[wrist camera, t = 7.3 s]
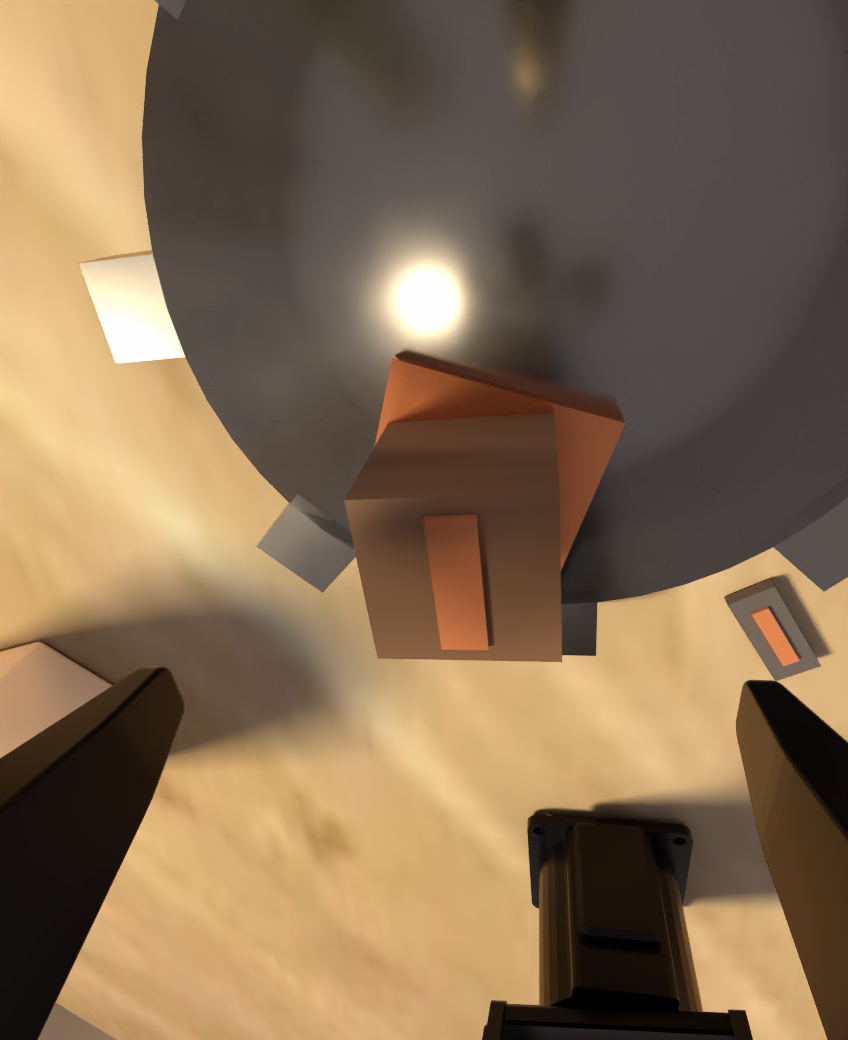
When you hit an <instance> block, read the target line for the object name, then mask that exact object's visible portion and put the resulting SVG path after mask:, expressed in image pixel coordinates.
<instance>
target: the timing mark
mask: <svg viewBox="0 0 848 1040" xmlns="http://www.w3.org/2000/svg"><path fill="white" fill-rule="evenodd" d="M724 598H725V600H726V602H727V605H728V606H729V608H730V610H731V611H732V613H733V614H734V616H735V618H736V619H737V621H738V622H739V624H740V626H741V627H742V629H743V630H744V632H745V633H746V635H747V637H748V638H749V640H750V641H751V643H752V645H753V646H754V648H755V649H756V651H757V653H758V654H759V656H760V657H761V659H762V661H763V662H764V664H765V665H766V667H767V669H768V670H769V672H770V673H771V675H772V677H773V678H774V680H775V681H778V680H781V679H784V678H787V677H790V676H793V675H796V674H799V673H802V672H805V671H808V670H811V669H814V668H817V667H820V666H821V665H820V663H819V662H818V660H817V658H816V656H815V655H814V653H813V651H812V649H811V648H810V646H809V644H808V643H807V641H806V639H805V637H804V636H803V634H802V632H801V630H800V629H799V627H798V625H797V624H796V622H795V620H794V618H793V617H792V615H791V613H790V612H789V610H788V608H787V606H786V605H785V603H784V601H783V600H782V598H781V596H780V594H779V593H778V591H777V589H776V588H775V586H774V584H773V582H772V581H771V579H768V580H765V581H763V582H761V583H758V584H756V585H753V586H751V587H748V588H746V589H743V590H741V591H738V592H736V593H733V594H731V595H728V596H726V597H724Z"/></svg>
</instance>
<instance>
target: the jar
mask: <svg viewBox="0 0 848 1040" xmlns="http://www.w3.org/2000/svg"><path fill="white" fill-rule="evenodd" d="M111 686H113V685H111V684H110V683H108V682H106V681H105V680H103V679H101V678H100V677H98V676H96V675H95V674H93V673H91V672H90V671H88V670H86V669H85V668H83V667H82V666H80V665H78V664H77V663H75V662H73V661H72V660H70V659H68V658H67V657H65V656H63V655H62V654H60V653H58V652H57V651H55V650H54V649H52V648H50V647H49V646H47V645H45V644H44V643H41V642H35V643H31V644H27V645H23V646H20V647H16V648H12V649H8V650H4V651H0V758H1V757H3V756H4V755H6V754H7V753H9V752H11V751H12V750H14V749H15V748H17V747H18V746H20V745H21V744H23V743H24V742H26V741H28V740H29V739H31V738H32V737H34V736H35V735H37V734H38V733H40V732H41V731H43V730H45V729H46V728H48V727H49V726H51V725H52V724H54V723H55V722H57V721H59V720H60V719H62V718H63V717H65V716H66V715H68V714H69V713H71V712H72V711H74V710H76V709H77V708H79V707H80V706H82V705H83V704H85V703H86V702H88V701H89V700H91V699H93V698H94V697H96V696H97V695H99V694H100V693H102V692H103V691H105V690H106V689H108V688H110V687H111Z"/></svg>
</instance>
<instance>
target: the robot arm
mask: <svg viewBox="0 0 848 1040" xmlns="http://www.w3.org/2000/svg"><path fill="white" fill-rule="evenodd" d="M183 713H184V700H183V698H182V695H181V693H180V691H179V689H178V686H177V684H176V682H175V680H174V677H173V675H172V673H171V671H170V670H169V669H168V668H167V667H164V666H144V667H141V668H139V669H137V670H136V671H134V672H133V673H131V674H130V675H128V676H127V677H125V678H124V679H122V680H120V681H119V682H117V683H116V684H114V685H113V686H111V687H110V688H108V689H106V690H105V691H103V692H102V693H100V694H99V695H97V696H96V697H94V698H93V699H91V700H89V701H88V702H86V703H85V704H83V705H82V706H80V707H79V708H77V709H76V710H74V711H72V712H71V713H69V714H68V715H66V716H65V717H63V718H62V719H60V720H59V721H57V722H55V723H54V724H52V725H51V726H49V727H48V728H46V729H45V730H43V731H41V732H40V733H38V734H37V735H35V736H34V737H32V738H31V739H29V740H28V741H26V742H24V743H23V744H21V745H20V746H18V747H17V748H15V749H14V750H12V751H11V752H9V753H7V754H6V755H4V756H3V757H1V758H0V1040H38V1038H39V1036H40V1034H41V1032H42V1030H43V1028H44V1025H45V1023H46V1021H47V1019H48V1017H49V1015H50V1013H51V1011H52V1009H53V1007H54V1005H55V1002H56V1000H57V998H58V996H59V994H60V992H61V990H62V988H63V986H64V984H65V981H66V979H67V977H68V975H69V973H70V971H71V969H72V967H73V965H74V963H75V960H76V958H77V956H78V954H79V952H80V950H81V948H82V946H83V944H84V942H85V940H86V937H87V935H88V933H89V931H90V929H91V927H92V925H93V923H94V921H95V919H96V916H97V914H98V912H99V910H100V908H101V906H102V904H103V902H104V900H105V898H106V896H107V893H108V891H109V889H110V887H111V885H112V883H113V881H114V879H115V877H116V875H117V872H118V870H119V868H120V866H121V864H122V862H123V860H124V858H125V856H126V854H127V851H128V849H129V847H130V845H131V843H132V841H133V839H134V837H135V835H136V833H137V831H138V828H139V826H140V824H141V822H142V820H143V818H144V816H145V814H146V811H147V809H148V807H149V805H150V803H151V800H152V798H153V795H154V793H155V790H156V788H157V785H158V782H159V780H160V777H161V774H162V771H163V769H164V766H165V763H166V760H167V758H168V755H169V752H170V750H171V747H172V744H173V741H174V739H175V736H176V733H177V730H178V728H179V725H180V722H181V719H182V717H183ZM736 733H737V739H738V744H739V748H740V753H741V757H742V762H743V766H744V771H745V775H746V780H747V784H748V789H749V793H750V798H751V802H752V807H753V811H754V816H755V820H756V825H757V829H758V833H759V837H760V841H761V845H762V849H763V852H764V855H765V858H766V861H767V864H768V867H769V870H770V873H771V876H772V879H773V882H774V885H775V888H776V891H777V894H778V896H779V899H780V902H781V905H782V908H783V911H784V914H785V917H786V920H787V923H788V926H789V928H790V931H791V934H792V937H793V940H794V943H795V946H796V949H797V952H798V955H799V958H800V960H801V963H802V966H803V969H804V972H805V975H806V978H807V981H808V984H809V987H810V990H811V992H812V995H813V998H814V1001H815V1004H816V1007H817V1010H818V1013H819V1016H820V1019H821V1022H822V1025H823V1027H824V1030H825V1033H826V1036H827V1039H828V1040H848V742H847V741H846V740H845V739H844V738H843V737H841V736H840V735H839V734H838V733H837V732H836V731H835V730H833V729H832V728H831V727H830V726H829V725H828V724H827V723H825V722H824V721H823V720H822V719H821V718H820V717H819V716H817V715H816V714H815V713H814V712H813V711H812V710H811V709H809V708H808V707H807V706H806V705H805V704H804V703H803V702H801V701H800V700H799V699H798V698H797V697H796V696H795V695H793V694H792V693H791V692H790V691H789V690H788V689H787V688H785V687H784V686H783V685H782V684H780V683H778V682H776V681H767V680H749V681H746V682H745V683H744V685H743V687H742V692H741V697H740V703H739V708H738V713H737V719H736ZM692 844H693V841H692V837H691V832H690V830H689V828H688V827H686V826H684V825H679V824H665V823H651V822H636V821H622V820H608V819H593V818H579V817H565V816H550V815H533V816H531V817H529V818H528V846H529V862H530V878H531V894H532V904H533V905H534V906H535V907H536V908H539V1005H520V1004H507V1002H506V1001H496V1000H492V1001H491V1004H490V1010H489V1017H488V1023H487V1025H485V1027H484V1032H483V1038H482V1040H753V1038H752V1034H751V1030H750V1027H749V1023H748V1019H747V1015H746V1011H745V1010H728V1013H718V1012H703V1009H702V1004H701V999H700V993H699V988H698V983H697V978H696V973H695V968H694V963H693V958H692V952H691V947H690V942H689V937H688V932H687V927H686V922H685V916H684V911H683V900H684V894H685V888H686V881H687V875H688V869H689V862H690V856H691V850H692Z"/></svg>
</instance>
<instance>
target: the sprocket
mask: <svg viewBox="0 0 848 1040" xmlns="http://www.w3.org/2000/svg"><path fill="white" fill-rule="evenodd" d="M155 1H156V2H157V3H158V4H159V7H158V12H157V18H156V23H155V29H154V34H153V39H152V45H151V50H150V56H149V61H148V66H147V73H146V87H145V102H144V116H143V130H142V148H143V173H144V198H145V205H146V212H147V218H148V225H149V232H150V238H151V245H152V251H144V252H137V253H129V254H121V255H114V256H110V257H105V258H101V259H96V260H92V261H88V262H83V263H79V265H80V268H81V271H82V273H83V276H84V279H85V281H86V284H87V287H88V290H89V292H90V295H91V298H92V300H93V303H94V306H95V308H96V311H97V314H98V316H99V319H100V322H101V324H102V327H103V330H104V332H105V335H106V338H107V340H108V343H109V346H110V348H111V351H112V354H113V356H114V359H115V362H116V363H124V362H135V361H147V360H158V359H169V358H181V357H186V359H187V361H188V363H189V365H190V367H191V369H192V371H193V373H194V375H195V377H196V379H197V381H198V383H199V385H200V387H201V389H202V391H203V393H204V395H205V397H206V399H207V401H208V402H209V404H210V405H211V407H212V408H213V410H214V411H215V413H216V415H217V416H218V418H219V419H220V421H221V422H222V424H223V425H224V427H225V429H226V430H227V432H228V433H229V435H230V436H231V438H232V439H233V441H234V442H235V443H236V444H237V445H238V447H239V448H240V449H241V450H242V452H243V453H244V454H245V455H246V457H247V458H248V459H249V460H250V462H251V463H252V464H253V465H254V467H255V468H256V469H257V470H258V471H259V473H260V474H261V475H262V476H263V477H264V478H265V479H266V480H267V481H268V482H269V483H270V484H271V485H272V486H273V487H274V488H275V489H276V490H277V491H278V492H279V493H280V494H281V495H282V496H283V497H284V498H285V499H286V500H287V501H288V502H289V504H288V505H287V506H286V508H285V509H284V510H283V512H282V513H281V514H280V515H279V517H278V518H277V519H276V521H275V522H274V523H273V525H272V526H271V527H270V529H269V530H268V532H267V533H266V534H265V536H264V537H263V538H262V540H261V541H260V543H259V544H258V545H257V547H258V548H259V549H261V550H262V551H264V552H265V553H267V554H268V555H269V556H271V557H272V558H274V559H275V560H277V561H278V562H279V563H281V564H282V565H284V566H285V567H287V568H288V569H290V570H291V571H292V572H294V573H295V574H297V575H298V576H300V577H301V578H302V579H304V580H305V581H307V582H308V583H310V584H311V585H312V586H314V587H315V588H317V589H318V590H320V591H321V592H322V593H323V592H324V591H325V589H326V588H327V587H328V586H329V585H330V584H331V583H332V582H333V581H334V580H335V579H336V577H337V576H338V575H339V574H340V573H341V572H342V571H343V570H344V569H345V568H346V567H347V566H348V564H349V563H350V562H351V561H352V560H353V559H354V558H355V557H356V553H355V549H354V544H353V539H352V535H351V530H350V525H349V521H348V516H347V511H346V506H345V502H344V500H345V498H346V496H347V494H348V493H349V491H350V489H351V487H352V486H353V484H354V482H355V480H356V479H357V477H358V475H359V473H360V472H361V470H362V468H363V466H364V465H365V463H366V461H367V459H368V457H369V456H370V454H371V452H372V450H373V449H374V447H375V445H376V443H377V442H378V440H379V438H380V436H381V435H382V433H383V431H384V429H385V428H386V426H387V424H388V423H396V422H412V421H429V420H445V419H462V418H478V417H495V416H512V415H528V414H545V413H554V418H555V432H556V447H557V462H558V477H559V492H560V556H561V624H562V655H587V656H596V631H597V602H603V601H610V600H616V599H623V598H630V597H636V596H642V595H646V594H649V593H653V592H657V591H661V590H665V589H669V588H673V587H677V586H681V585H685V584H687V583H690V582H693V581H696V580H698V579H701V578H704V577H707V576H709V575H712V574H715V573H717V572H720V571H723V570H726V569H728V568H731V567H733V566H735V565H737V564H739V563H741V562H743V561H745V560H747V559H749V558H751V557H754V556H756V555H758V554H760V553H762V552H764V551H766V550H768V549H770V548H772V547H774V548H775V549H776V550H777V551H779V552H780V553H781V554H782V555H783V556H784V557H785V558H786V559H788V560H789V561H790V562H791V563H792V564H793V565H794V566H795V567H797V568H798V569H799V570H800V571H801V572H802V573H803V574H805V575H806V576H807V577H808V578H809V579H810V580H811V581H812V582H814V583H815V584H816V585H817V586H818V587H819V588H820V589H822V590H823V591H826V590H827V589H829V588H831V587H832V586H834V585H835V584H837V583H839V582H840V581H842V580H844V579H845V578H847V577H848V0H155Z"/></svg>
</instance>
